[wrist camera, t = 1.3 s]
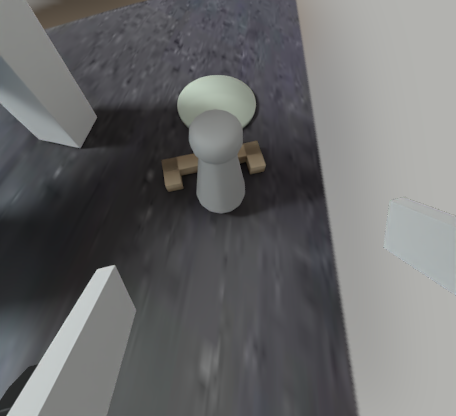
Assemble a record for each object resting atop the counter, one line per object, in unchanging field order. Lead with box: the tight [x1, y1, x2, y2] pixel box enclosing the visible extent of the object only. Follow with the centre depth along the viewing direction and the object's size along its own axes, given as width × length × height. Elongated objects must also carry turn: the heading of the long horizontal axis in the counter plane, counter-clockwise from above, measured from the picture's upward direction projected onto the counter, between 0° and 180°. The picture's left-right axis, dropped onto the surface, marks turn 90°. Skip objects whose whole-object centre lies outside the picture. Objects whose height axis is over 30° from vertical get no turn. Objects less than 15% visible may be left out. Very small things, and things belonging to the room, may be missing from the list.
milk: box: [0, 0, 97, 148], centre depth 22 cm, size 6×6×22 cm
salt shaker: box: [189, 109, 245, 214], centre depth 22 cm, size 6×6×13 cm
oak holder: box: [161, 141, 266, 192], centre depth 29 cm, size 4×13×2 cm, turn 104°
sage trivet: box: [177, 75, 256, 129], centre depth 34 cm, size 12×12×1 cm
